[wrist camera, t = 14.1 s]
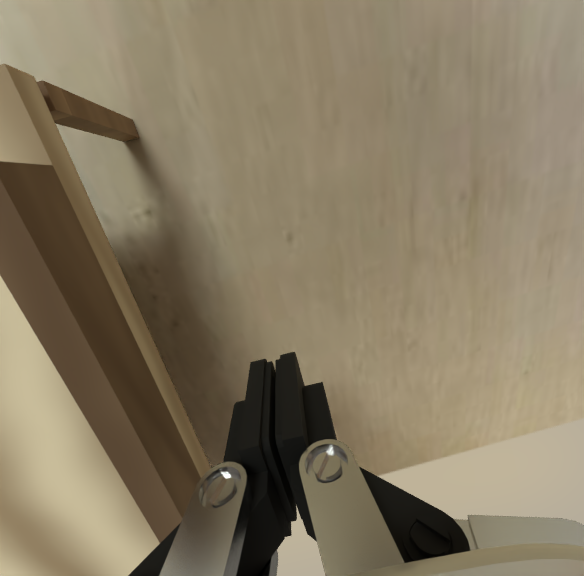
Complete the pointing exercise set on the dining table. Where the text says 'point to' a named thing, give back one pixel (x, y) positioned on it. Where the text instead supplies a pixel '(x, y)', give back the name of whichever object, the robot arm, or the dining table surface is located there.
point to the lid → (76, 374)
